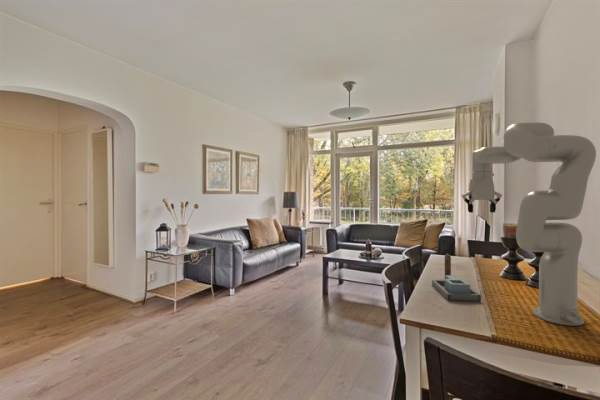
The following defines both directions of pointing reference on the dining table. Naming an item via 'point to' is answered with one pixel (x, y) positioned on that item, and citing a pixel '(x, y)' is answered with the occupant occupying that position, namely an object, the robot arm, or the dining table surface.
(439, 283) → the tray
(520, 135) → the robot arm
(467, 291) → the light blue chunk
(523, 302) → the dining table surface
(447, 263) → the post
